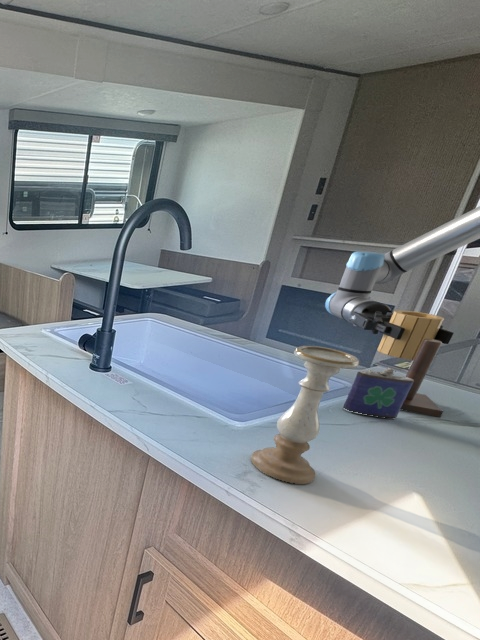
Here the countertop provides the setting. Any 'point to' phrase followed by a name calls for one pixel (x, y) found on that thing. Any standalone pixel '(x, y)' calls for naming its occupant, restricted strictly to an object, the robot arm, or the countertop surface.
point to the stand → (417, 373)
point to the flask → (378, 393)
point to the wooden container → (410, 333)
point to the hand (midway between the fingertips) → (424, 336)
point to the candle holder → (302, 417)
